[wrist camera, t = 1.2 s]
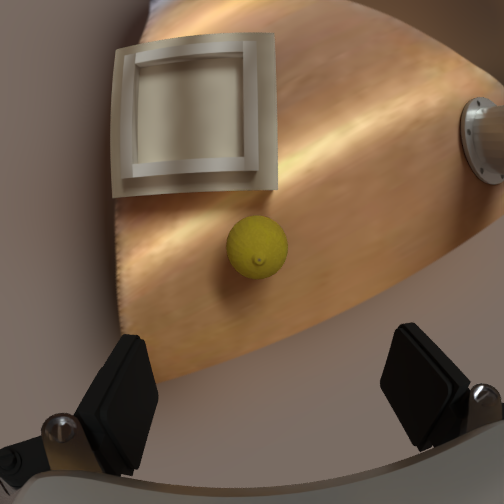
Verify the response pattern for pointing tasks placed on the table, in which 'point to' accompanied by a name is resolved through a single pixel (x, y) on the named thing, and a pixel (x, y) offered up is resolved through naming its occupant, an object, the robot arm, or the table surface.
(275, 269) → the lemon
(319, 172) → the table surface
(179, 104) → the stand
